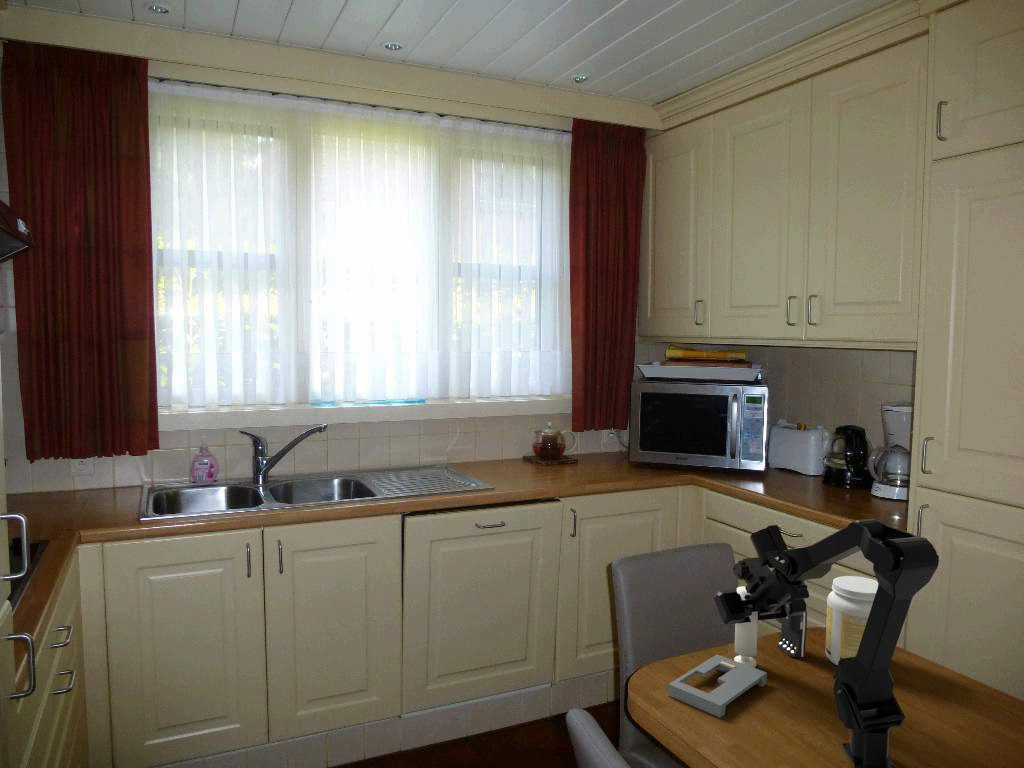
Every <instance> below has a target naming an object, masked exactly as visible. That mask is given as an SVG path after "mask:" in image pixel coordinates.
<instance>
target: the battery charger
mask: <svg viewBox="0 0 1024 768" xmlns="http://www.w3.org/2000/svg"><path fill="white" fill-rule="evenodd" d="M785 607H786V609H785V611H786V613H787V617H785V618H778V619H775V621H777V623H780V625H781V629H780V630H781V631H780V636H779V639H778V641H777V644H776V645H777V647H778V648H779V649H780V650H781V651H782V652H784V653H785V654H787V655H788V656H789V657H791V658H803V657H806V640H807V626H808V610H806V612H805V613H803V614H802V615H797V616H790V614H789V611H791V610H790V608H789V605H788V604H787V605H786V606H785Z"/></svg>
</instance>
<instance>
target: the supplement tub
mask: <svg viewBox="0 0 1024 768" xmlns="http://www.w3.org/2000/svg"><path fill="white" fill-rule="evenodd" d="M877 588H878V581H877V579H876V580H875V579H872V578H868V577H863V576H858V575H844V576H843V575H841V576H838V577H835V578H833V580H832V586H831V589H832V591H830V593H829V592H828V593H829V594H828V595H827V599H826V601H827V603H826V624H825V625H826V627H825V631H826V632H825V648H824V650H825V656H826V658H827V659H828V660H829V661H830V662H831V663H833V665H836V666H838V662H839V660H840V659H842V658H849V657H855V656H856V654H857V651H858V648H859V645H860V641H861V638H862V635H863V632H864V629H865V626H866V623H867V619H868V616H869V613H870V610H871V607H872V604H873V601H874V598H875V594H876V591H877Z"/></svg>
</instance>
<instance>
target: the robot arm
mask: <svg viewBox="0 0 1024 768" xmlns="http://www.w3.org/2000/svg"><path fill="white" fill-rule="evenodd" d="M749 539H750V541H751V544H752V546H753V548H754V550H755V553H756V555H757V557H749V558H748V557H747V558H743V559H742V560H738V561H737V563H734V565H733V567H732V573H733V574H734V576H735V577H736V578H737V580H740V581H741V580H744V582H745V584H747V585H746V587H745V589H746V591H747V593H750V595H745V596H744V598H745V600H742V598H741V596H740V594H738V593H737V590H735V589H728V590H719V591H718V592H716V593H715V595H714V597H713V600H714V603H715V605H716V607H717V610H718V612H719V615H720V617H721V621H722V623H723V624H725V625H735V623H747V622H751V620H750V618H749V616H751V615H752V612H758V621H767V620H776V619H778V618H785V617H787V613H786V611H785V609H786V607H785V606H786V605H787V604H788V605H789V608H790V610H791V611H789V614H790V616H797V615H802V614H803V613H805V612H806V610H807V609H808V604H807V602H806V600H805V599H809V598H810V591H809V589H808V585H807V584H806V581H810V580H817V579H818V580H819V579H822V578H823V577H825V576H826V575H827V574H828V573H829V572H830V571H831V570H832V567H833V565H834V564H836V563H837V562H839V561H841V560H844V559H846V558H848V557H850V556H853V555H854V554H857V553H859V552H860V551H861V554H862V556H863V557H864V559H866V560H867V561H869V562H870V563H872V564H873V567H872V570H873V573H874V576H875V579H876V581H878V588H877V591H876V594H875V598H874V601H873V604H872V607H871V610H870V613H869V616H868V619H867V623H866V626H865V629H864V632H863V635H862V638H861V641H860V645H859V648H858V651H857V654H856V656H855V657H849V658H842V659H840V660H839V662H838V666H837V665H836V666H837V668H836V671H835V674H834V675H833V676H832V679H834V680H835V681H834V685H833V692H834V697H835V702H836V708H837V709H836V710H837V714H838V719H839V720H840V721H841V722H842V723H843V724H844V725H843V726H844V728H846V729H849V743H848V742H842V743H841V748H842V750H843V752H844V753H845V755H846V756H847V758H848V759H849V761H850V763H851V764H852V766H853V767H854V768H897V765H895V763H894V762H893V760H892V759H891V758H890V756H889V743H890V742H889V741H890V739H889V738H890V728H893V727H901V726H903V723H904V721H905V719H906V716H905V714H904V712H903V709H901V706H900V704H899V702H898V701H897V698H896V697H895V693H894V692H893V690H894V684H895V682H894V679H893V677H892V673H891V672H890V665H891V662H892V660H893V659H892V658H893V657H894V652H895V650H896V647H897V644H898V641H899V638H900V637H901V636H900V635H901V633H902V631H903V626H904V624H905V621H906V618H907V615H908V613H909V610H910V609H909V608H910V606H911V603H912V601H913V598H914V596H915V595H916V594H917V593H918V592H920V591H921V590H922V589H923V588H924V587H925V586H926V585H928V584H929V583H930V581H931V579H932V578H933V576H934V575H935V573H936V571H937V569H938V567H939V563H940V557H939V554H938V552H937V550H936V548H935V547H934V545H933V543H932V542H931V541H929V540H928V539H927V538H924V537H922V536H917V535H915V534H913V533H911V532H909V531H905V530H903V529H899V528H896V527H894V526H890V525H888V524H887V523H885V522H883V521H882V520H880V519H879V520H878V519H876V518H868V519H858V520H857V519H856V520H852V522H850V523H848V525H847V526H845V527H843V528H841V529H839V530H837V531H835V532H833V533H832V534H830V535H828V536H826V537H824V538H823V539H820V540H818V541H816V542H815V543H813V544H810V545H805V546H799V547H794V548H789V547H788V546H787V543H786V541H785V539H784V537H783V535H782V533H781V529H780V527H779V524H772V525H771V524H769V525H767V527H765V528H762V529H759V530H757V531H756V532H752V533H751V534H750V536H749ZM771 569H772V570H771ZM750 607H751V608H750ZM807 611H808V610H807Z"/></svg>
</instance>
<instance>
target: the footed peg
mask: <svg viewBox="0 0 1024 768" xmlns="http://www.w3.org/2000/svg"><path fill="white" fill-rule="evenodd" d="M746 586H747V585H746ZM746 586H745V585H744V586H738V587H736V592H737V593H738V594H740V596H741V598H742V600H745V598H744V596H745V595H750V593H747V591H746V589H745V587H746ZM750 608H751V607H750ZM749 618H750V620H751V622H747V623H735V624H734V625H735V626H734V628H735V630H734V653H736V654H737V656H735V657H734V658H733V660H734V661H736V662H739V663H742V664H745V665H747V666H750V667H753V668H756V667H757V660H756V659H755V658H754V657H755V656H756V655H757V652H758V651H757V650H758V646H757V645H758V627H759V626H758V622H759V620H758V612H752V615H751V616H749Z"/></svg>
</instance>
